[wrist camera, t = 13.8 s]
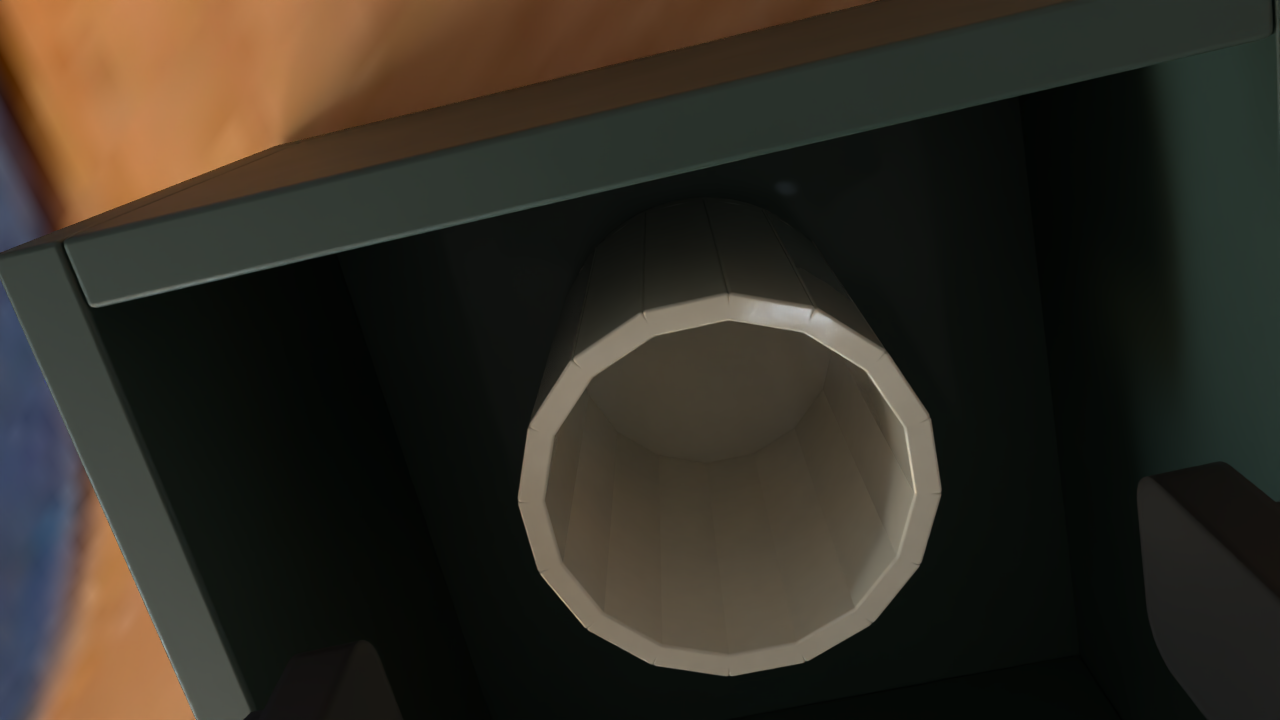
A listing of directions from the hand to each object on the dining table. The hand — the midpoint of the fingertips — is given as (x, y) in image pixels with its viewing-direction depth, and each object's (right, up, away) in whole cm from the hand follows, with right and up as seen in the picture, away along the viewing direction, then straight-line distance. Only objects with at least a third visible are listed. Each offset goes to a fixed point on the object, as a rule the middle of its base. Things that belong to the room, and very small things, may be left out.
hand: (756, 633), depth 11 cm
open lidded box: (+1, +1, +13) cm, 13 cm away
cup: (0, +3, +11) cm, 12 cm away
